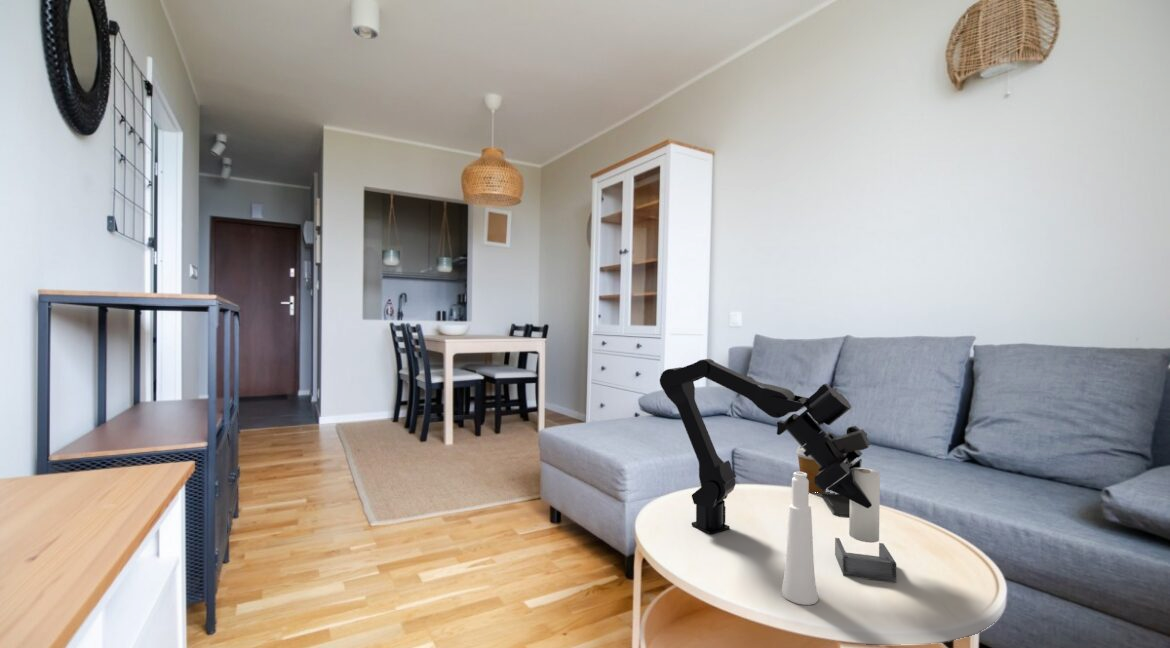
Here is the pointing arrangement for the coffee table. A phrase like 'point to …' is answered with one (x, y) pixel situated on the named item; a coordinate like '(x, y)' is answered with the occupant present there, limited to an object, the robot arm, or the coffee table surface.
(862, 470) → the paper roll
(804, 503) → the cosmetic bottle
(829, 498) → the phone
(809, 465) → the disposable coffee cup
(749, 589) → the coffee table surface
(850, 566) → the tray
